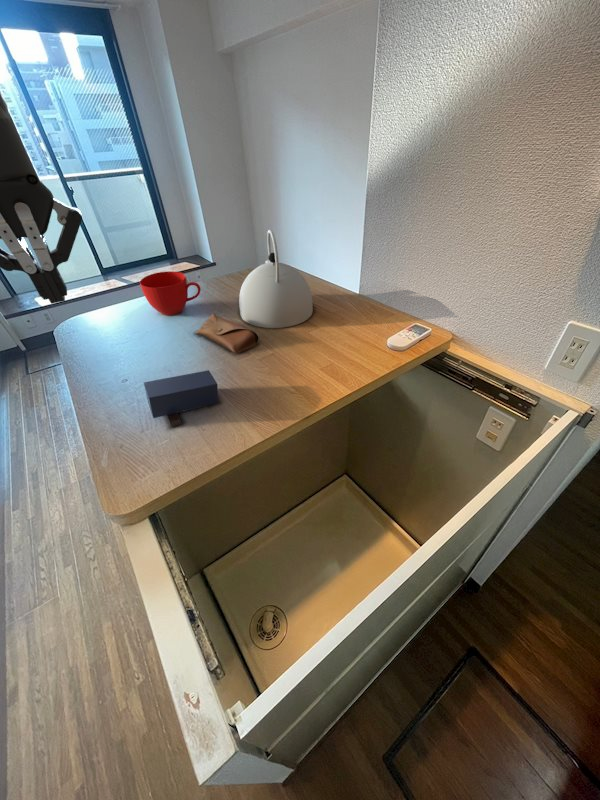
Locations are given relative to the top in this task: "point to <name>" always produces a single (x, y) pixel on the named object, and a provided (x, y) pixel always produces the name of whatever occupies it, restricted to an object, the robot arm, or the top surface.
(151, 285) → the ceramic cup
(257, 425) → the top surface
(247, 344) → the sunglasses case
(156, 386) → the navy box
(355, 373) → the top surface
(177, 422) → the stop strip
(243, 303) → the kettle
